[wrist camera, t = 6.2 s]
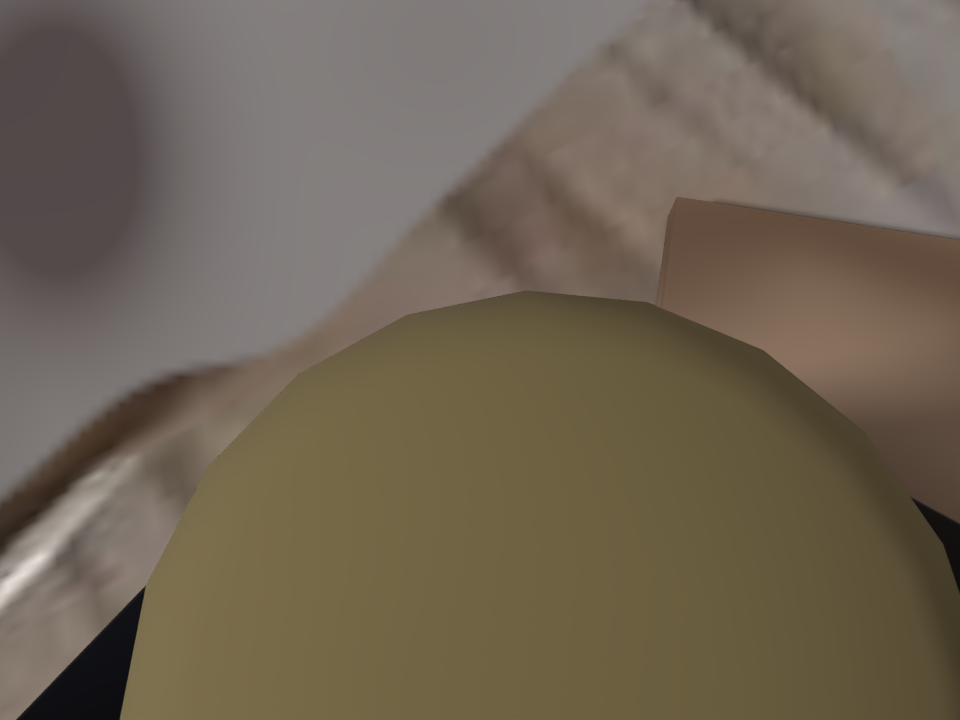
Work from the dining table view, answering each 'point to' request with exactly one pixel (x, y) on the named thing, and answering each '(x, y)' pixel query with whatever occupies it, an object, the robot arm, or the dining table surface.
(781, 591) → the cork
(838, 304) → the walnut board
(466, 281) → the dining table surface
